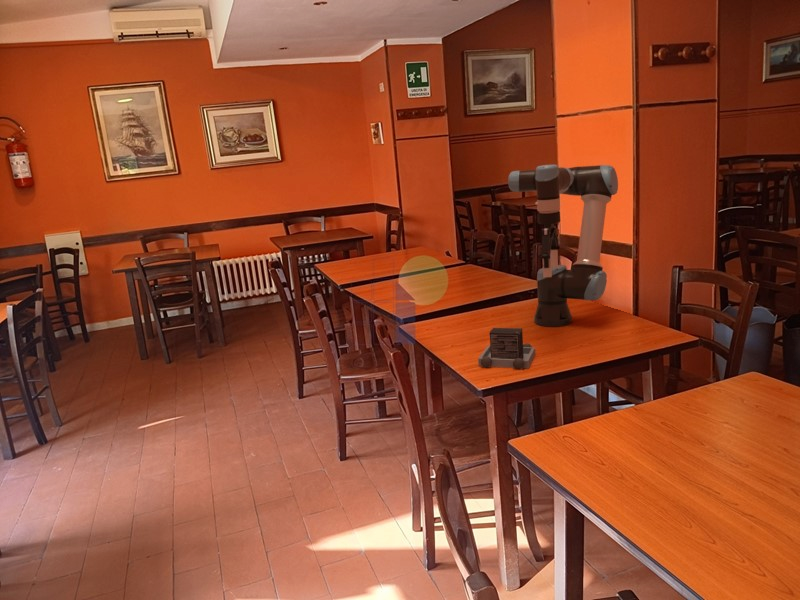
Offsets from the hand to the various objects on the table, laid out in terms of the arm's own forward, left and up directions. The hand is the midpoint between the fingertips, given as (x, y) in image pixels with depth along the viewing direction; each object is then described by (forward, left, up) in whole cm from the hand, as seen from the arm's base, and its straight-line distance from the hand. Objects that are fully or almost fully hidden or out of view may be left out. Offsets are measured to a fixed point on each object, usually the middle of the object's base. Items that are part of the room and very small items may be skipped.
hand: (550, 272), depth 209 cm
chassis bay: (+13, -14, -28) cm, 34 cm away
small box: (+13, -14, -28) cm, 34 cm away
